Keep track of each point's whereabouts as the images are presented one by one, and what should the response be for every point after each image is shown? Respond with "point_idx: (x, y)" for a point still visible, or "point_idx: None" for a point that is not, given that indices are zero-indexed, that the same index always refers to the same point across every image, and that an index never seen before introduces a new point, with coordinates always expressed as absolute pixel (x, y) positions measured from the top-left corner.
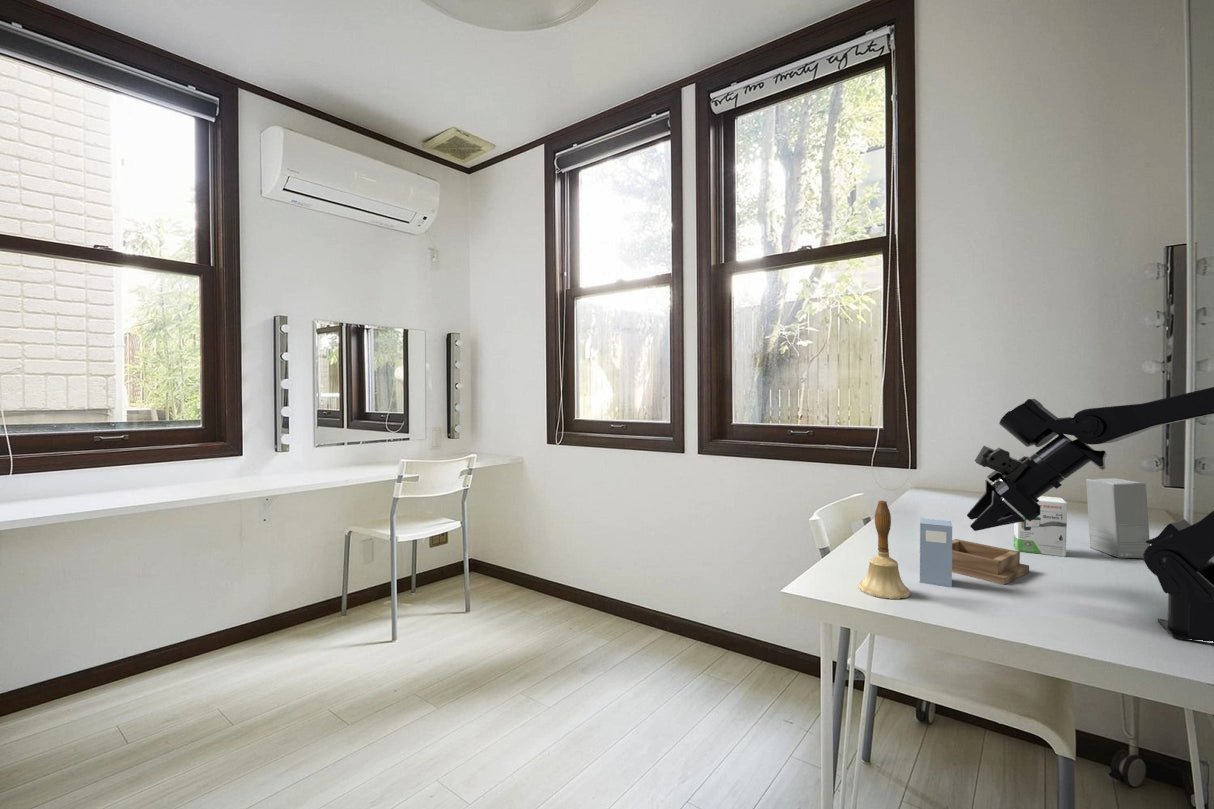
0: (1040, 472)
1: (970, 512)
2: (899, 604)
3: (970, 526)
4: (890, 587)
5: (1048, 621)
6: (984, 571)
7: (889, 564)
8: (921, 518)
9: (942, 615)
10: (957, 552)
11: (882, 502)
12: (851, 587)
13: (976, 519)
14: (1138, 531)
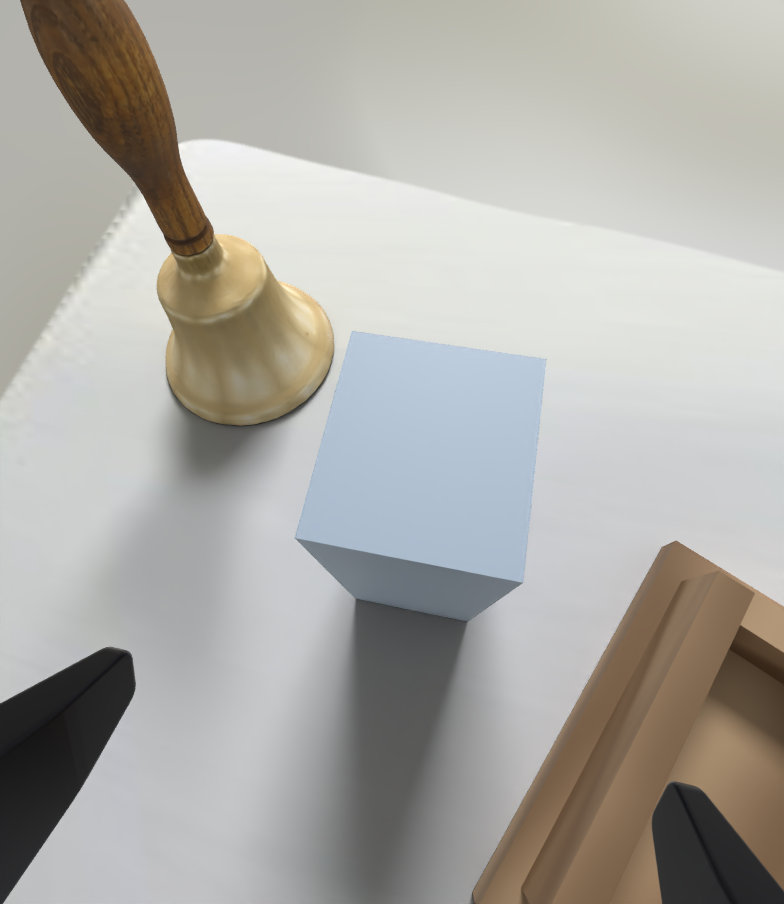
0: None
1: (692, 836)
2: (125, 379)
3: (112, 648)
4: (173, 342)
5: None
6: (556, 820)
7: (158, 287)
8: (533, 365)
9: (37, 489)
10: (666, 698)
11: None
12: None
13: (24, 706)
14: None
